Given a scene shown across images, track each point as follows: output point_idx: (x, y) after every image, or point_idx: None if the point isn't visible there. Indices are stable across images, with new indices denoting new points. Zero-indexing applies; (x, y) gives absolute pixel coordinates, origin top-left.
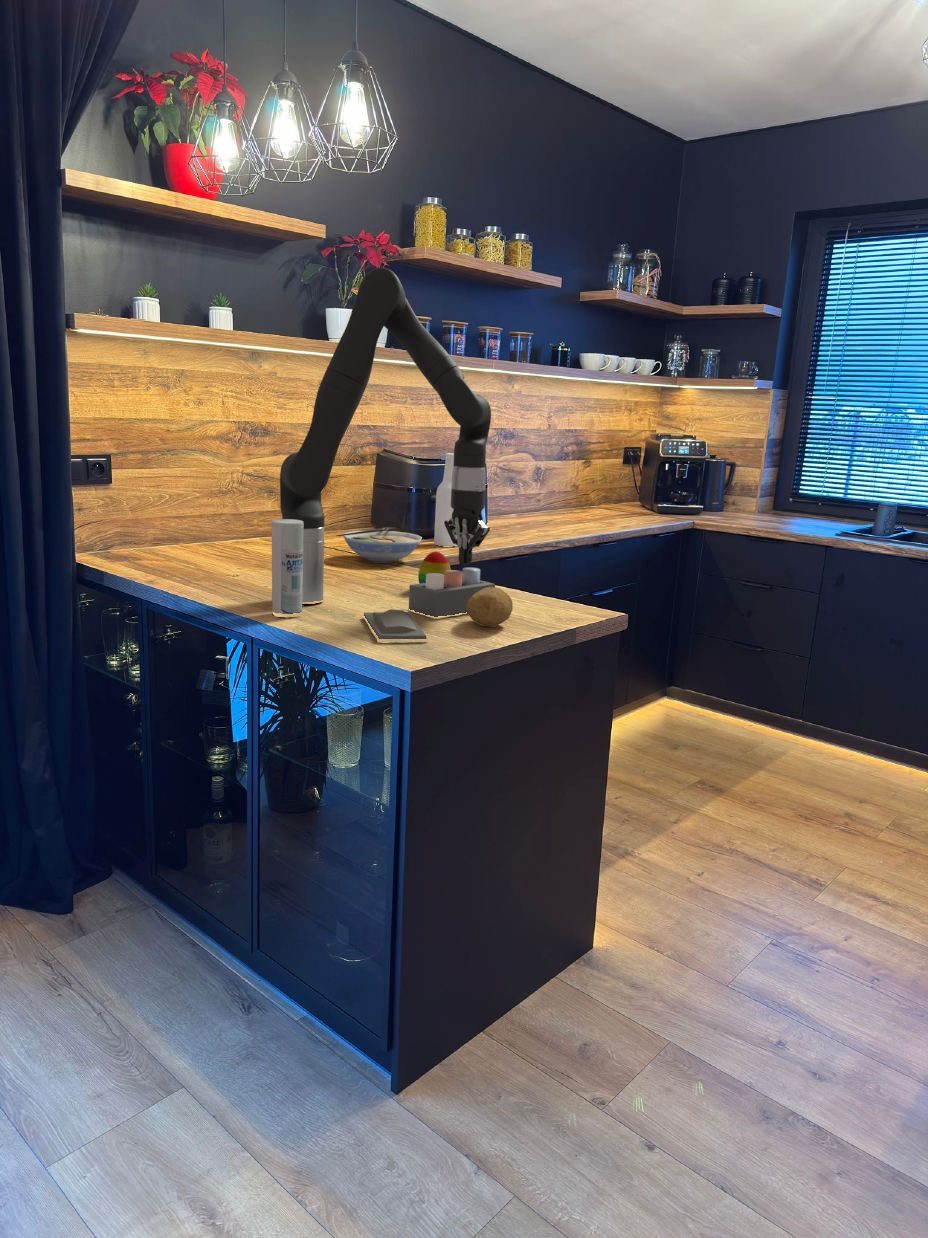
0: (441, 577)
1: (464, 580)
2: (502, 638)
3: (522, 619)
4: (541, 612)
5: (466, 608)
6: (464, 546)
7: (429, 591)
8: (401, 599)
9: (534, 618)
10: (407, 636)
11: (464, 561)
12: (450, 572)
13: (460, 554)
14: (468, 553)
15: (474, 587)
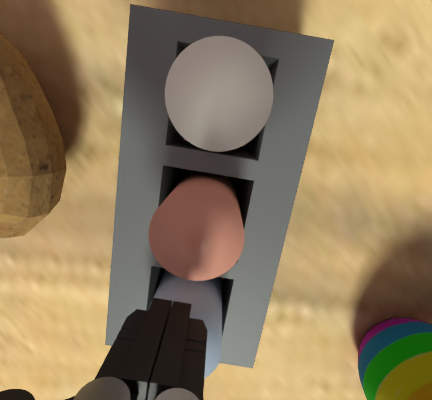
0: (167, 91)
1: (192, 283)
2: None
3: (14, 254)
4: (42, 350)
5: (10, 46)
6: (94, 393)
7: (186, 17)
8: (414, 192)
9: (5, 286)
10: None
11: (148, 313)
12: (195, 210)
13: (174, 344)
14: (105, 366)
15: (113, 242)
